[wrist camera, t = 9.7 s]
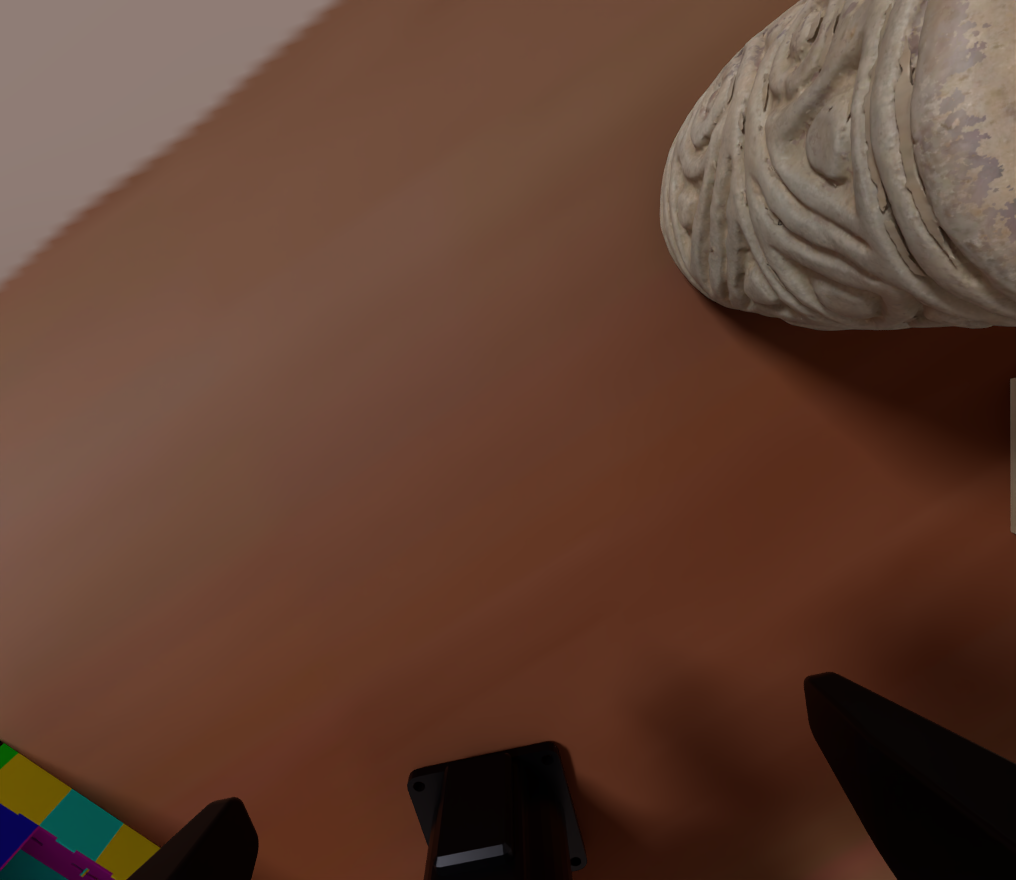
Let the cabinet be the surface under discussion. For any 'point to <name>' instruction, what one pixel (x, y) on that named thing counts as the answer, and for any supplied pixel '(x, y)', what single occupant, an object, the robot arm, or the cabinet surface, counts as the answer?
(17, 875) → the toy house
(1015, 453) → the birch brick
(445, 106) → the cabinet surface
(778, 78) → the carving
